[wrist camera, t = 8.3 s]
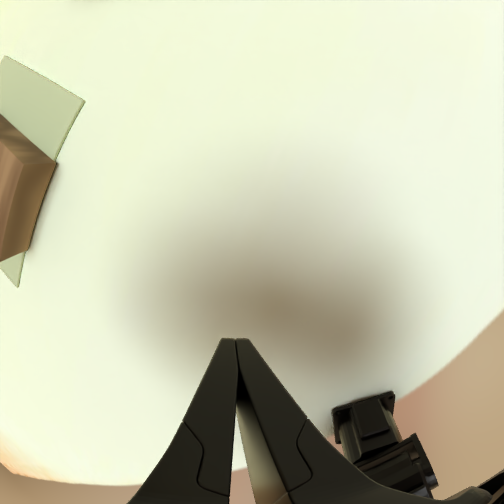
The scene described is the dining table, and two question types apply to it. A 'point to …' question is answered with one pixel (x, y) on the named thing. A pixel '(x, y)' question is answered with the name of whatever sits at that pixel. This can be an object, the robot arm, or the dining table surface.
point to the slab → (20, 188)
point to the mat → (34, 120)
